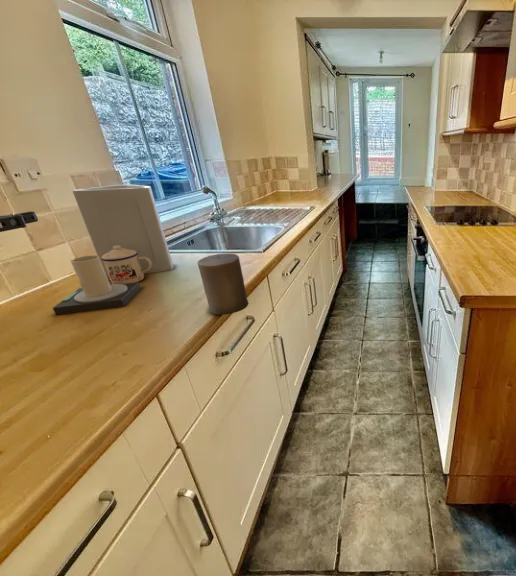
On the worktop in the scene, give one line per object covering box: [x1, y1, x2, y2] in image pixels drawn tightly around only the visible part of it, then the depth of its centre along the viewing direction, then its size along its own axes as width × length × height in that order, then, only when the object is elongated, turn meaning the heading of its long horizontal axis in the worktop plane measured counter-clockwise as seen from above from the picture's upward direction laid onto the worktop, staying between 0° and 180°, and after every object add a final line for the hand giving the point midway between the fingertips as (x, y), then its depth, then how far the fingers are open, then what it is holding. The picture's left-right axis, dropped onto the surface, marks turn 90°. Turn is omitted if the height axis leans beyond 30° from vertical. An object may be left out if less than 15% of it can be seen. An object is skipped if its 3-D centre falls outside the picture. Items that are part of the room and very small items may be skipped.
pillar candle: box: [197, 253, 249, 316], centre depth 83 cm, size 10×10×15 cm
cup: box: [70, 254, 112, 297], centre depth 87 cm, size 6×6×10 cm
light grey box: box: [72, 184, 174, 279], centre depth 109 cm, size 19×15×28 cm
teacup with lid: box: [101, 245, 151, 284], centre depth 102 cm, size 12×9×12 cm
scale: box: [52, 281, 142, 315], centre depth 90 cm, size 15×13×2 cm
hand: (16, 216), depth 70 cm, fingers open, 8 cm apart
